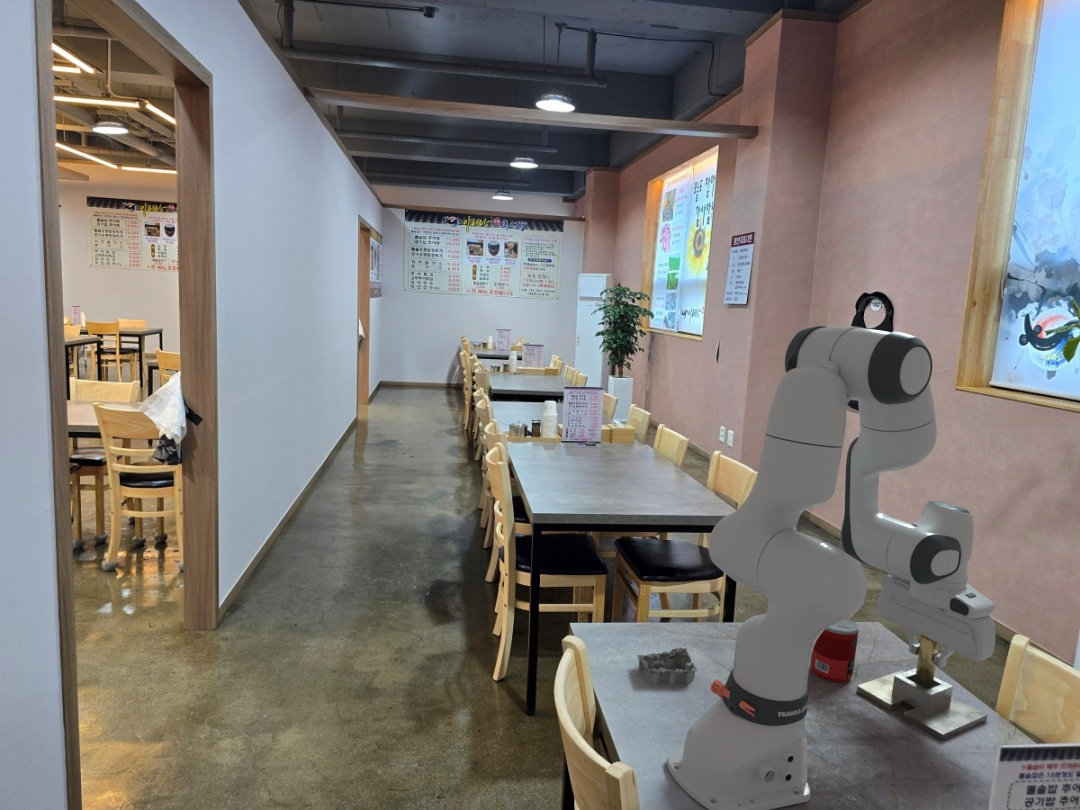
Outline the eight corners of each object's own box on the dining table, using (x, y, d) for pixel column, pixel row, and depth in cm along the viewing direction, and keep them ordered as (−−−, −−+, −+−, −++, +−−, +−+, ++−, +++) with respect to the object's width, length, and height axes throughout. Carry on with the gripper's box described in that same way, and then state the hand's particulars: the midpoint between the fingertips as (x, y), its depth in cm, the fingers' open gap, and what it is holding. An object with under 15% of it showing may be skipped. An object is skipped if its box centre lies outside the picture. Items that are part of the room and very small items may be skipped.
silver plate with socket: (941, 741, 118) (945, 714, 117) (856, 691, 132) (859, 667, 132) (986, 720, 125) (990, 695, 124) (901, 675, 139) (904, 652, 138)
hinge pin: (928, 684, 125) (935, 638, 124) (908, 674, 129) (915, 629, 127) (940, 679, 127) (947, 634, 126) (921, 669, 130) (927, 625, 129)
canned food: (856, 686, 134) (863, 633, 132) (813, 680, 136) (819, 628, 134) (847, 666, 142) (853, 616, 140) (806, 660, 143) (812, 611, 141)
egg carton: (686, 665, 139) (688, 647, 138) (698, 686, 132) (700, 666, 131) (635, 665, 138) (636, 646, 137) (643, 685, 131) (645, 665, 130)
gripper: (874, 570, 133) (866, 637, 135) (985, 614, 115) (973, 690, 117) (894, 565, 136) (886, 631, 138) (1005, 608, 118) (993, 682, 120)
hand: (926, 659), depth 127 cm, fingers closed on hinge pin, 3 cm apart
